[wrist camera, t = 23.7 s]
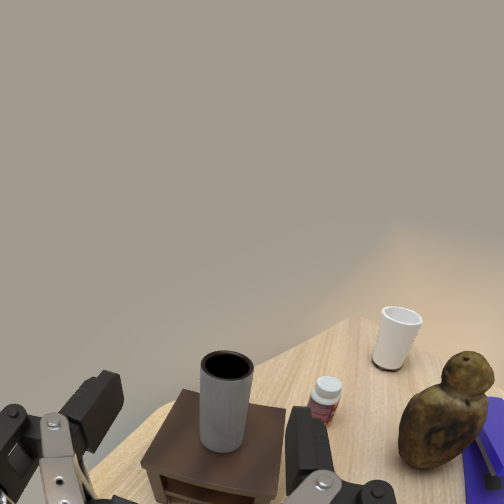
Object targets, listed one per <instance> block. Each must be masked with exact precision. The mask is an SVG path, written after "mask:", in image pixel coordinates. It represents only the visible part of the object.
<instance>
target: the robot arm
mask: <svg viewBox="0 0 504 504" xmlns="http://www.w3.org/2000/svg"><path fill="white" fill-rule="evenodd" d="M123 403H124V396H123V391H122V384H121V379H120V375H119V374H117V373H113V372H110V371H107V370H103V371H102V372H101V373H100V374H99V376H98V377H97V378H96V377H91V378H90V379H88V380H86V381H84V383H83V384H82V385H81V386H80V388H79V389H78V390H77V391H76V392H75V394H73V396H72V397H71V398H70V399H69V401H68V402H67V403H66V404H65V405H64V406H63V408H62V409H61V410H60V411H59V412H58V413H49V414H46V415H44V416H43V417H37V416H32V415H28V414H27V412H26V410H25V409H24V407H23V406H21V405H18V404H10V405H8V406H6V407H5V408H4V409H3V410H2V411H1V412H0V504H16V503H17V501H18V500H19V498H20V496H21V494H22V492H23V491H24V489H25V487H26V486H27V484H28V482H29V480H30V479H31V477H32V475H33V474H34V472H35V471H36V469H37V467H38V465H39V466H40V473H41V479H42V485H43V491H44V496H45V501H46V504H138V503H135V502H132V501H129V500H127V499H124V498H121V497H118V496H116V495H113V497H112V499H111V500H110V499H98V498H97V496H96V494H95V492H94V490H93V487H92V484H91V481H90V477H89V474H88V470H87V466H86V463H85V459H84V456H83V455H84V453H85V451H88V452H91V453H93V454H94V453H95V451H96V450H97V448H98V446H99V445H100V443H101V441H102V440H103V438H104V437H105V435H106V433H107V431H108V430H109V428H110V426H111V425H112V423H113V421H114V420H115V418H116V417H117V415H118V413H119V412H120V410H121V409H122V406H123ZM16 443H17V445H16ZM15 445H16V446H15ZM14 446H15V448H14V449H13V447H14ZM12 449H13V451H12V452H11V450H12ZM10 452H11V453H10ZM9 453H10V455H9ZM8 455H9V456H8ZM285 462H286V496H289V497H288V498H287V499H285V500H284V501H283V502H282V503H281V504H397V503H396V498H395V494H394V490H393V488H392V486H391V485H390V484H389V483H387V482H385V481H382V480H372V481H369V482H367V483H366V484H365V485H359V484H353V483H349V482H346V481H343V480H342V479H340V477H339V476H338V475H337V474H336V473H335V471H334V467H333V461H332V456H331V450H330V444H329V439H328V433H327V428H326V425H325V424H324V423H323V421H322V420H321V419H320V418H312V415H311V409H310V407H303V406H293V407H292V410H291V414H290V417H289V421H288V424H287V427H286V433H285Z"/></svg>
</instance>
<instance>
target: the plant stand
mask: <svg viewBox="0 0 504 504" xmlns="http://www.w3.org/2000/svg"><path fill="white" fill-rule="evenodd" d="M285 414H286V409H283V408H276V407H269V406H263V405H257V404H251V403H249V405H248V411H247V418H246V424H245V430H244V436H243V441H242V444H241V445H240V447H239V448H237V449H236V450H234V451H232V452H228V453H218V452H214V451H211V450H209V449H207V448H206V447H205V446H204V445H203V444H202V442H201V440H200V393H198V392H194V391H190V390H186V389H183V390H182V391H181V393H180V395H179V396H178V398H177V400H176V402H175V403H174V405H173V407H172V409H171V410H170V412H169V414H168V416H167V417H166V419H165V421H164V422H163V424H162V426H161V428H160V429H159V431H158V433H157V435H156V436H155V438H154V440H153V441H152V443H151V445H150V447H149V448H148V450H147V452H146V453H145V455H144V457H143V459H142V460H141V462H140V463H141V466H142V468H143V469H146V471H147V475H148V478H149V481H150V484H151V487H152V491H153V494H154V497H155V499H156V501H158V502H160V503H163V504H168V502H169V500H170V498H171V496H174V497H177V498H180V499H184V500H187V501H191V502H194V503H198V504H269V503H270V501H271V500H274V499H275V497H276V495H277V487H278V479H279V471H280V463H281V454H282V445H283V435H284V425H285Z"/></svg>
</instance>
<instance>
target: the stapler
mask: <svg viewBox="0 0 504 504" xmlns="http://www.w3.org/2000/svg"><path fill="white" fill-rule="evenodd" d="M488 399H489V404H488V416H487V420H486V422H485V424H484V426H483V428H482V430H481V431H480V433H479V434H478V436H477V437H476V439H475V440H474V441H473V442H472V443H471V444H470V445H469V447H468V448H467V449H465V450H464V451H463V452H462V456H463V465H464V475H465V488H466V504H504V401H503V400H502V398H497V397H488Z"/></svg>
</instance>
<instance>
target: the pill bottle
mask: <svg viewBox="0 0 504 504" xmlns="http://www.w3.org/2000/svg"><path fill="white" fill-rule="evenodd" d="M341 389H342V383H341V381H340V380H338V379H337V378H334V377H331V376H323V377H320V378H319V379H318V380H317V382H316V385H315V387H314V388H313V389H312V391H311V393H310V397H309V401H308V404H307V407H310V409H311V415H312V418H320V419H321V420H322V421H323V423H324V424H325V425H326V427H328V426H329V425H330V423H331V421H332V419H333V416H334V414H335V411H336V409H337V406H338V403H339V401H340V397H341V396H340V392H341Z"/></svg>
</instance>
